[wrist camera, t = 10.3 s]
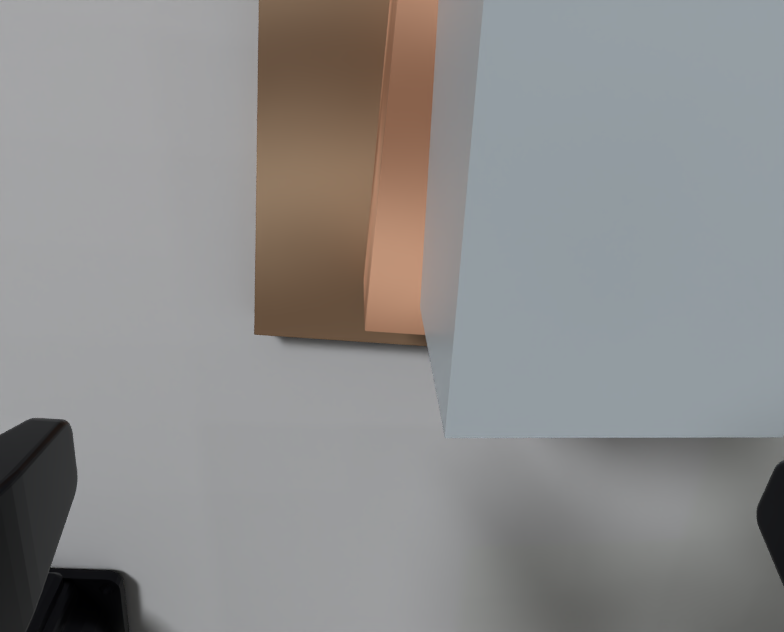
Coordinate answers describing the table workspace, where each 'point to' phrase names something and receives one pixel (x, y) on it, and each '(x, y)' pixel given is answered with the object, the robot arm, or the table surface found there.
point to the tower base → (343, 167)
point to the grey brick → (606, 219)
